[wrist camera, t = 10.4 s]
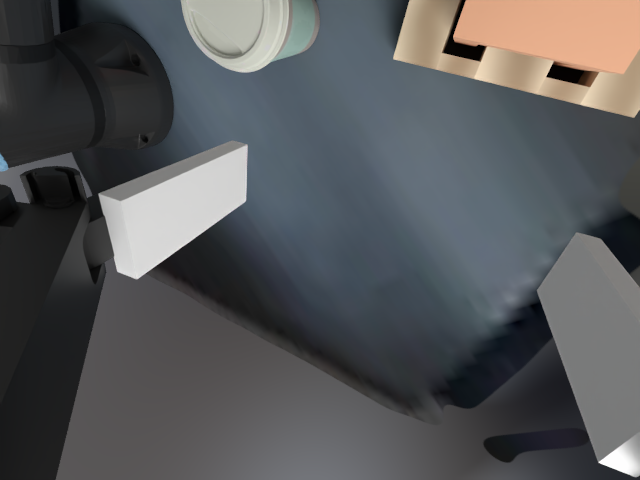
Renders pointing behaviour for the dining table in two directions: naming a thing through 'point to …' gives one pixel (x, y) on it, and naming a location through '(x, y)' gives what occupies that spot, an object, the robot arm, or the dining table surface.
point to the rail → (509, 63)
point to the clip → (556, 30)
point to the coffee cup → (251, 30)
